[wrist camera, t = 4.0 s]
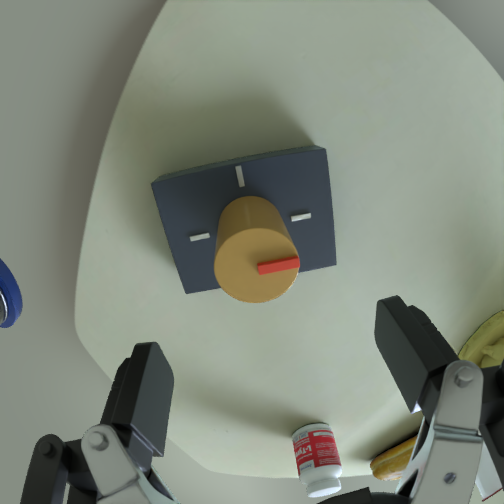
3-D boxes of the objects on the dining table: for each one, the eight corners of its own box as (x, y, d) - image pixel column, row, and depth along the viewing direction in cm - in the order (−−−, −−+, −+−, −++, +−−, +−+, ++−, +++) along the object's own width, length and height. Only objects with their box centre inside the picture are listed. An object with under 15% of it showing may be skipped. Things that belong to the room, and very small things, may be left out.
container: (460, 448, 61) (483, 500, 38) (453, 442, 55) (480, 503, 32) (499, 417, 57) (526, 467, 34) (499, 406, 50) (532, 464, 28)
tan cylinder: (226, 260, 21) (224, 313, 16) (212, 202, 19) (203, 239, 14) (285, 248, 21) (304, 297, 16) (276, 190, 19) (295, 221, 14)
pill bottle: (301, 421, 36) (315, 487, 26) (337, 421, 37) (355, 482, 27) (285, 440, 38) (295, 500, 29) (319, 440, 40) (332, 496, 30)
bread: (475, 403, 44) (490, 427, 37) (385, 464, 51) (394, 489, 44) (466, 389, 40) (483, 418, 32) (360, 460, 47) (369, 489, 40)
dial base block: (189, 278, 25) (185, 295, 22) (159, 176, 21) (149, 184, 18) (327, 251, 24) (337, 266, 22) (316, 145, 21) (326, 148, 18)
